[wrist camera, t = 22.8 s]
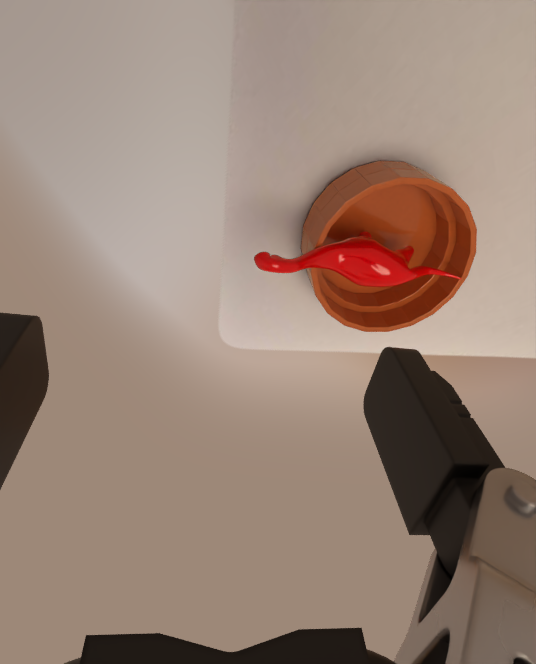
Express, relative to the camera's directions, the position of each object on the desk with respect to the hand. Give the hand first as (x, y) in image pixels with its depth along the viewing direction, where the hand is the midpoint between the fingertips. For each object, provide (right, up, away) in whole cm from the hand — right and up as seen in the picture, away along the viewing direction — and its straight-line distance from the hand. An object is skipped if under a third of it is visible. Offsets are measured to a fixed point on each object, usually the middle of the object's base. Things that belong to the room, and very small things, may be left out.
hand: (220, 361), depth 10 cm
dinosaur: (+11, +8, +30) cm, 33 cm away
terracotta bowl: (+11, +10, +31) cm, 34 cm away
